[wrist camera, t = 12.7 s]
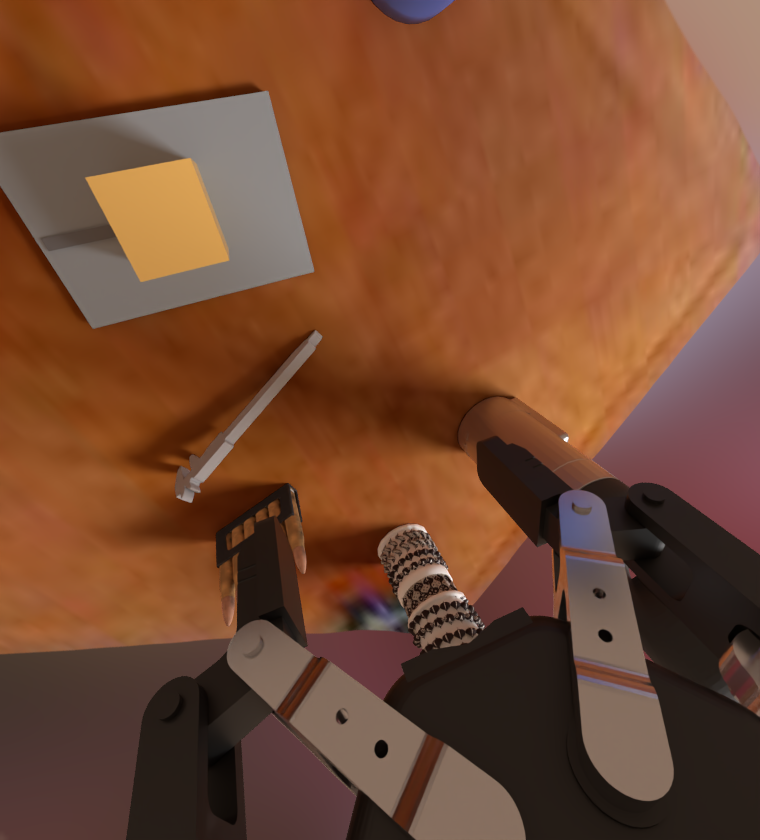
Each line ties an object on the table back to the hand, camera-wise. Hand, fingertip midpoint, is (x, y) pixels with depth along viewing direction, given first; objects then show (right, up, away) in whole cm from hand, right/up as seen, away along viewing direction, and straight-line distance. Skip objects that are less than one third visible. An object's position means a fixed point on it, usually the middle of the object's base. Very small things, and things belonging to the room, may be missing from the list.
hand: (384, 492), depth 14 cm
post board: (-16, +18, +14) cm, 28 cm away
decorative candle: (+3, -16, +44) cm, 47 cm away
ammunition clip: (-15, -8, +31) cm, 35 cm away
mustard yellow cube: (-15, +18, +13) cm, 27 cm away
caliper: (-14, +5, +24) cm, 28 cm away
